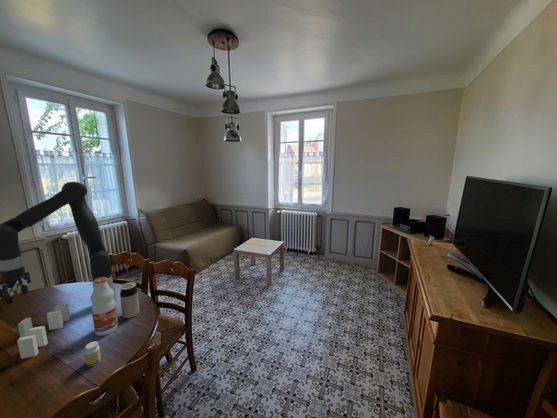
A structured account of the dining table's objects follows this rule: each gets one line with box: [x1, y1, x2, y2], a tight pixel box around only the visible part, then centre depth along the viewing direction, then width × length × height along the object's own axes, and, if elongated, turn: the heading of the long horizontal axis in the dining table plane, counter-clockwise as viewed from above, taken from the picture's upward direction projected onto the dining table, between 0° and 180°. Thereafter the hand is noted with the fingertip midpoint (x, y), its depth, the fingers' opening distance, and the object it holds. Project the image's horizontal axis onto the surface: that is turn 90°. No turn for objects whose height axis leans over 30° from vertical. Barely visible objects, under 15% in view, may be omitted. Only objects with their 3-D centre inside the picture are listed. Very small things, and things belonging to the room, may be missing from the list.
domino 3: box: [28, 325, 49, 348], centre depth 99 cm, size 2×5×9 cm, turn 108°
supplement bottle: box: [84, 340, 102, 367], centre depth 91 cm, size 5×5×8 cm
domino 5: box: [54, 303, 71, 322], centre depth 116 cm, size 2×5×9 cm, turn 108°
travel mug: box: [119, 281, 140, 319], centre depth 121 cm, size 8×8×18 cm
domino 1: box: [17, 316, 34, 338], centre depth 104 cm, size 2×5×9 cm, turn 19°
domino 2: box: [17, 335, 39, 360], centre depth 93 cm, size 2×5×9 cm, turn 108°
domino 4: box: [46, 310, 64, 331], centre depth 110 cm, size 2×5×9 cm, turn 108°
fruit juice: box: [90, 277, 119, 337], centre depth 108 cm, size 9×9×28 cm
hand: (18, 298), depth 103 cm, fingers open, 8 cm apart
